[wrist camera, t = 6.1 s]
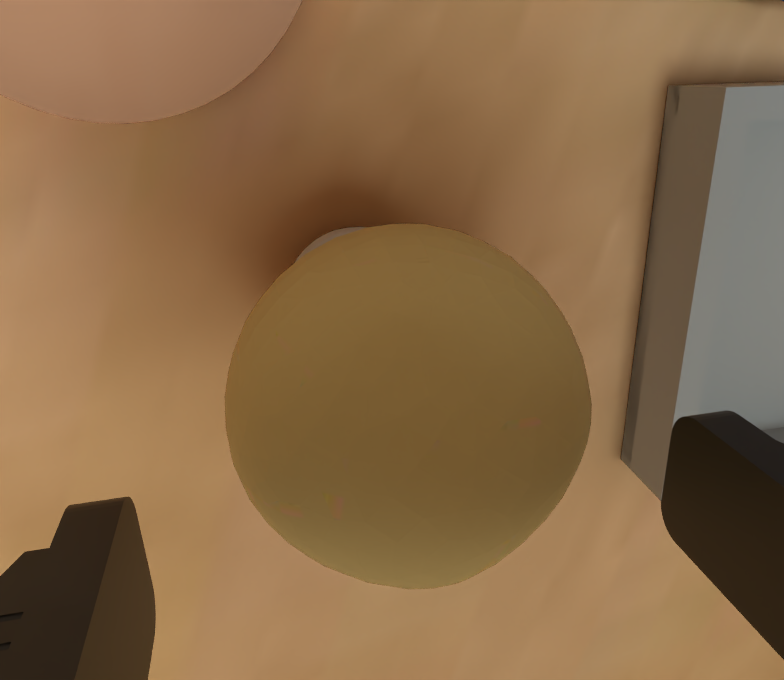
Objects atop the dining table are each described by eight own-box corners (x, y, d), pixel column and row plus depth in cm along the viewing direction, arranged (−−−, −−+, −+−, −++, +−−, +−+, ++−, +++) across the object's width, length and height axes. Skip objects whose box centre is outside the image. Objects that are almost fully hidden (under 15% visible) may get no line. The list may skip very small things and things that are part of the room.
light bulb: (187, 316, 18) (121, 574, 9) (326, 119, 16) (422, 176, 7) (372, 426, 20) (474, 718, 11) (505, 260, 19) (741, 435, 10)
